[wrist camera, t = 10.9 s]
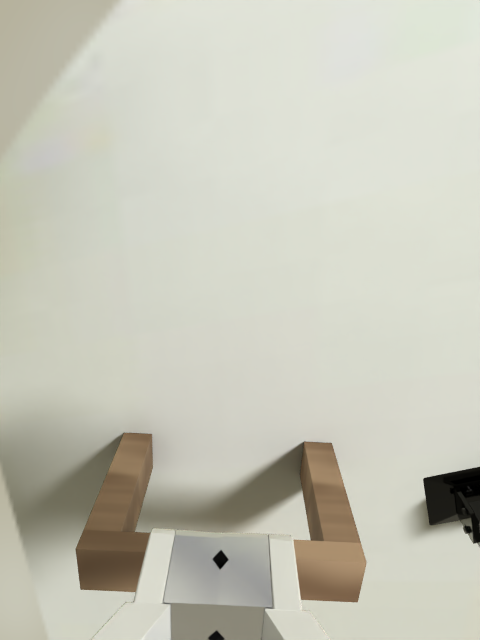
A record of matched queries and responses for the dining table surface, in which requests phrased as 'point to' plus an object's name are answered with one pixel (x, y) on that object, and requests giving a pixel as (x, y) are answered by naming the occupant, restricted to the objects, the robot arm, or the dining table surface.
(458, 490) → the black stepped block
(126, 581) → the bridge
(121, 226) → the dining table surface
